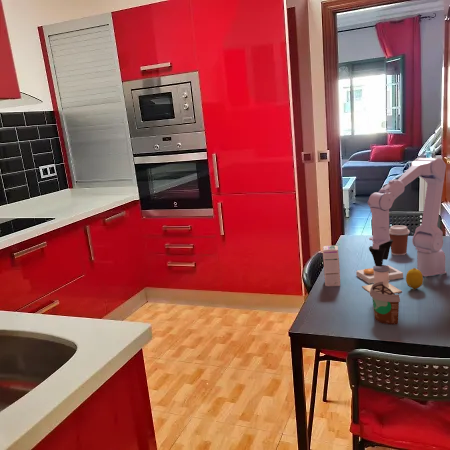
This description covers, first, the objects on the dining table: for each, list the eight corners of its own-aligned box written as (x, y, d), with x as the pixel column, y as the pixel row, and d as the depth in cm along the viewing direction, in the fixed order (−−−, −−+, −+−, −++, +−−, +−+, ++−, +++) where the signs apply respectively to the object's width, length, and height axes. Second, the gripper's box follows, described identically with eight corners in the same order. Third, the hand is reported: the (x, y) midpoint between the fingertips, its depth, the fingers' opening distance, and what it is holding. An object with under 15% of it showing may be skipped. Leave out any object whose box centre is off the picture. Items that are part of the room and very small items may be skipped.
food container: (364, 312, 145) (363, 283, 143) (382, 309, 145) (382, 280, 143) (380, 329, 133) (379, 297, 131) (400, 326, 133) (399, 295, 131)
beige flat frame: (388, 269, 180) (388, 265, 179) (403, 277, 170) (403, 272, 170) (356, 275, 177) (356, 270, 177) (369, 283, 168) (368, 278, 167)
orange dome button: (372, 275, 175) (371, 267, 175) (377, 278, 171) (377, 271, 171) (361, 276, 175) (361, 269, 174) (367, 280, 170) (367, 273, 170)
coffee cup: (411, 250, 200) (411, 224, 197) (407, 257, 192) (407, 230, 190) (390, 249, 205) (390, 224, 202) (385, 255, 197) (385, 229, 195)
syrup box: (340, 286, 168) (339, 249, 165) (324, 286, 169) (322, 249, 166) (340, 280, 174) (338, 244, 170) (324, 281, 175) (322, 245, 172)
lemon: (422, 286, 160) (422, 265, 158) (423, 292, 155) (423, 270, 153) (405, 286, 162) (405, 265, 160) (406, 292, 157) (406, 270, 155)
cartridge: (375, 284, 165) (375, 264, 163) (391, 286, 162) (391, 265, 160) (371, 289, 161) (371, 268, 159) (386, 292, 158) (386, 270, 156)
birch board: (386, 282, 167) (386, 281, 167) (401, 292, 157) (401, 291, 157) (361, 287, 165) (361, 286, 165) (375, 296, 156) (375, 295, 155)
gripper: (374, 220, 167) (376, 255, 170) (363, 230, 155) (364, 268, 158) (394, 221, 163) (395, 257, 166) (384, 231, 151) (385, 269, 154)
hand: (381, 262), depth 162 cm, fingers open, 7 cm apart
